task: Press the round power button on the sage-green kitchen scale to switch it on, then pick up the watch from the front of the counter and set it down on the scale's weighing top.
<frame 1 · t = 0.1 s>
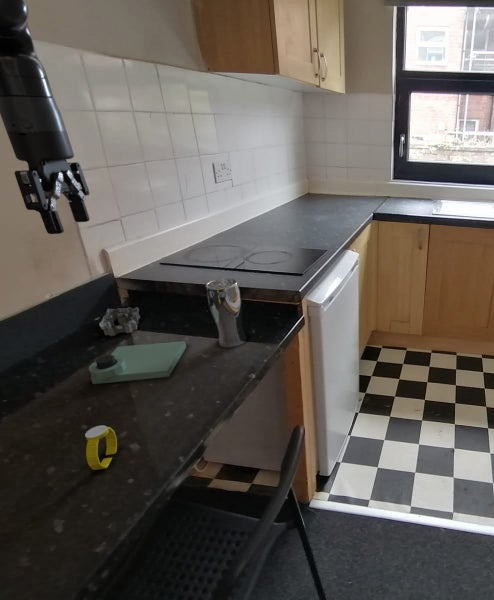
hand: (70, 227, 72), 31 cm above the counter, tool pointing down, fingers open, 8 cm apart
beer glass: (233, 342, 96), on the counter
watch: (108, 462, 62), on the counter
power button: (106, 362, 80), point 4 cm above the counter, slide at 0.1 cm
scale: (143, 365, 86), on the counter
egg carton: (123, 327, 102), on the counter
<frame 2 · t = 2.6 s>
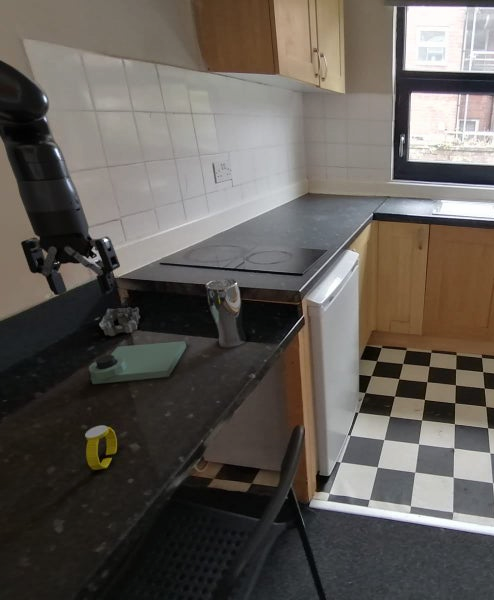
hand: (84, 292, 75), 19 cm above the counter, tool pointing down, fingers open, 8 cm apart
nothing on the counter moved.
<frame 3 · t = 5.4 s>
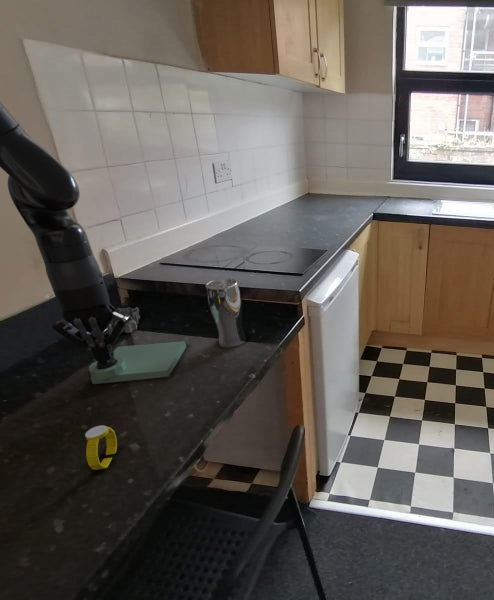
hand: (106, 361, 80), 4 cm above the counter, tool pointing down, fingers closed
power button: (106, 364, 81), point 3 cm above the counter, slide at -0.4 cm, touching gripper
everything else where it was.
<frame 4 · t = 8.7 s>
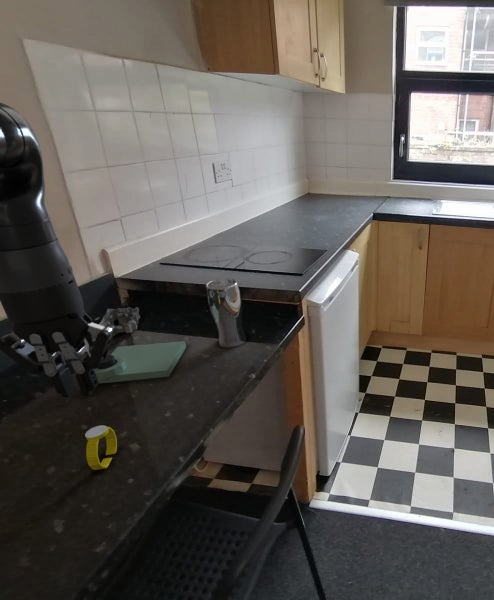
hand: (80, 392, 57), 13 cm above the counter, tool pointing down, fingers closed
power button: (106, 362, 80), point 4 cm above the counter, slide at 0.1 cm
everything else where it was.
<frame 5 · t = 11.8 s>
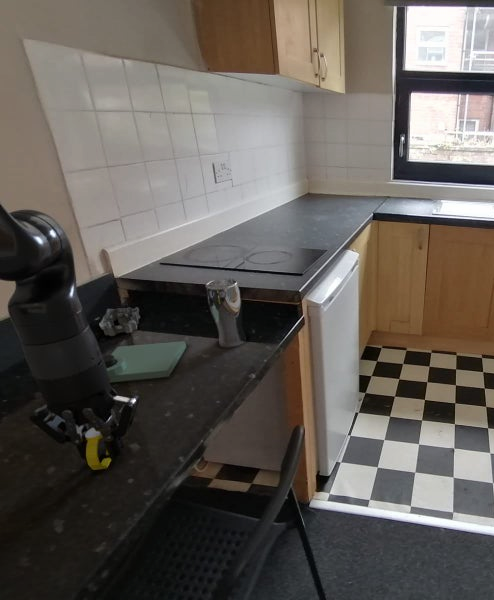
hand: (105, 456, 62), 1 cm above the counter, tool pointing down, fingers closed on watch, 2 cm apart
watch: (108, 462, 62), on the counter, touching gripper
everything else where it was.
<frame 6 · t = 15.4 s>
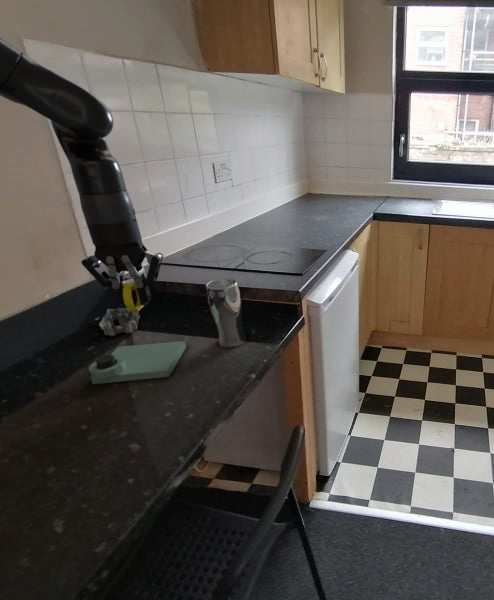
hand: (136, 303, 79), 15 cm above the counter, tool pointing down, fingers closed on watch, 2 cm apart
watch: (138, 309, 80), point 14 cm above the counter, touching gripper
everything else where it was.
when the fingers open (3 cm above the counter, at t = 18.9 s): watch stays where it is, resting on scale.
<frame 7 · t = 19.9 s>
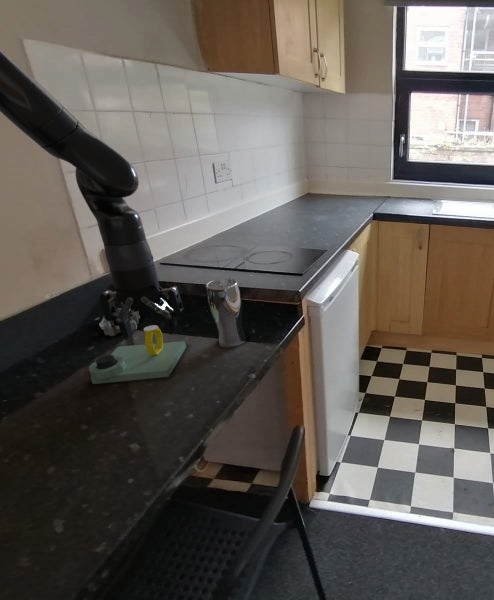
hand: (151, 334, 86), 6 cm above the counter, tool pointing down, fingers open, 8 cm apart
watch: (157, 353, 88), point 2 cm above the counter, touching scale
everything else where it was.
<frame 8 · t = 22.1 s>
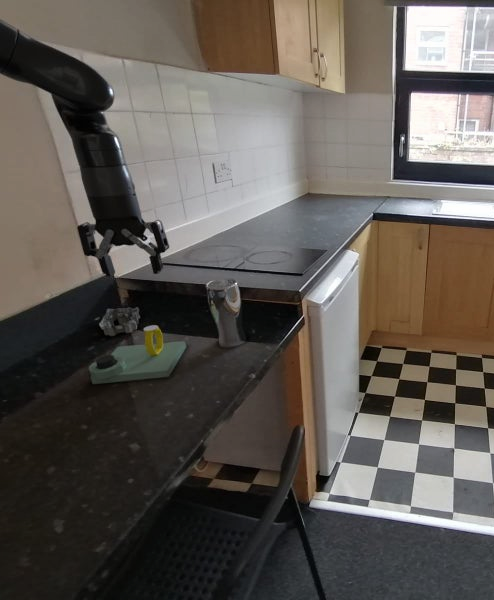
hand: (134, 273, 80), 20 cm above the counter, tool pointing down, fingers open, 8 cm apart
nothing on the counter moved.
at the end: power button pushed in 0.9 cm at the most during the clip, back to where it started at the end; watch touching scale; watch inside the target area on the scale (3.2 cm from its centre), point 1.7 cm above the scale's base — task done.
